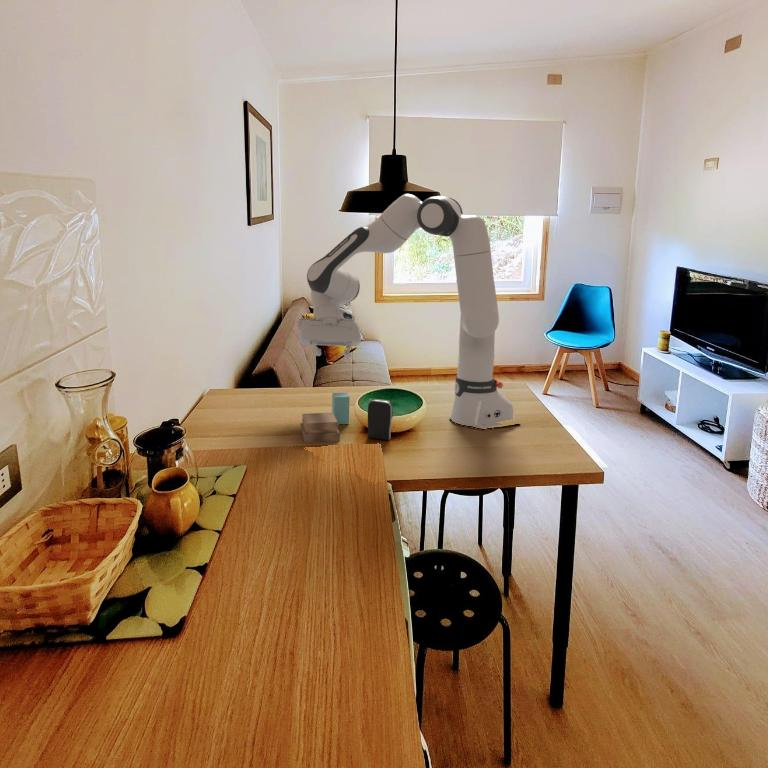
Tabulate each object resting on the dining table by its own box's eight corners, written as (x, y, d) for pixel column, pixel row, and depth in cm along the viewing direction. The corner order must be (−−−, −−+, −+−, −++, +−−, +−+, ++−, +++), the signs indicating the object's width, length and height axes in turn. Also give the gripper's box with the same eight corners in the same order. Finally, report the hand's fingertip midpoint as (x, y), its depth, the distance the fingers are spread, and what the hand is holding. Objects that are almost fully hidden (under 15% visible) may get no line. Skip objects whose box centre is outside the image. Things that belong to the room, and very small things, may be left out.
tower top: (332, 422, 181) (332, 412, 180) (337, 431, 172) (337, 421, 172) (302, 423, 179) (302, 413, 178) (306, 433, 170) (306, 423, 170)
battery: (393, 437, 177) (394, 399, 174) (389, 441, 174) (390, 403, 171) (370, 433, 179) (371, 396, 176) (366, 438, 176) (367, 400, 173)
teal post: (346, 420, 191) (346, 392, 189) (348, 424, 187) (349, 396, 185) (332, 420, 190) (332, 393, 188) (334, 425, 186) (334, 397, 183)
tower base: (334, 431, 182) (334, 421, 181) (339, 442, 173) (339, 432, 172) (300, 432, 180) (300, 423, 179) (304, 444, 170) (304, 434, 170)
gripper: (298, 312, 193) (303, 349, 187) (359, 315, 200) (365, 351, 194) (294, 323, 198) (298, 359, 192) (353, 326, 206) (359, 361, 199)
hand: (332, 355), depth 193 cm, fingers open, 8 cm apart
